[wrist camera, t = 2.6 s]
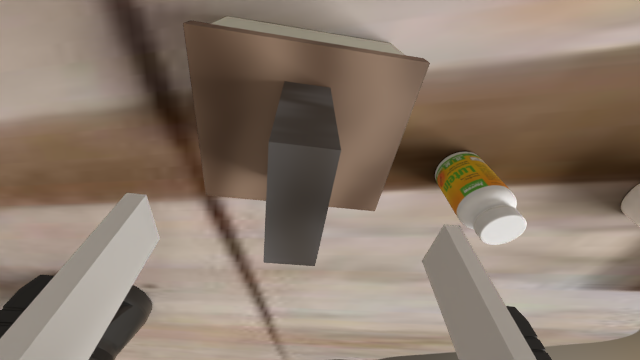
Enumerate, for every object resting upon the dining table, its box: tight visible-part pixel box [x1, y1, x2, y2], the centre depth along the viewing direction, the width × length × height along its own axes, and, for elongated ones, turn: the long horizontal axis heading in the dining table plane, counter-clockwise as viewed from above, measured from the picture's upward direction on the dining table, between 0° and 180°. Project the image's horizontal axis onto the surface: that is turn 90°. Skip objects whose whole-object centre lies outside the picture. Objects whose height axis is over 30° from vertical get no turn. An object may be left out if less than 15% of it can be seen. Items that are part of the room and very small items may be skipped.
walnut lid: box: [183, 21, 430, 266], centre depth 17 cm, size 15×13×10 cm
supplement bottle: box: [435, 152, 527, 245], centre depth 28 cm, size 5×5×10 cm
